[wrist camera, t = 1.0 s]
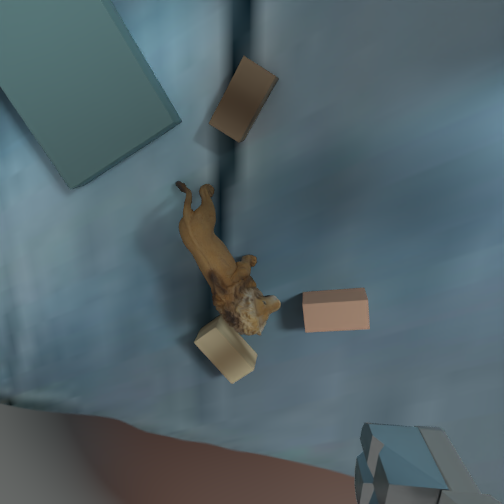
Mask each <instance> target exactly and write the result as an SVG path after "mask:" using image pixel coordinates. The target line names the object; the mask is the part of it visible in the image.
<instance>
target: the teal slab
mask: <svg viewBox="0 0 504 504" xmlns="http://www.w3.org/2000/svg"><path fill="white" fill-rule="evenodd" d="M0 87H1V88H2V90H3V91H4V93H5V94H6V96H7V97H8V99H9V100H10V102H11V103H12V105H13V106H14V108H15V109H16V110H17V112H18V113H19V115H20V116H21V118H22V119H23V121H24V122H25V124H26V125H27V127H28V128H29V130H30V131H31V133H32V134H33V135H34V137H35V138H36V140H37V141H38V143H39V144H40V146H41V147H42V149H43V150H44V152H45V153H46V155H47V156H48V158H49V159H50V160H51V162H52V163H53V165H54V166H55V168H56V169H57V171H58V172H59V174H60V175H61V177H62V178H63V180H64V181H65V183H66V184H67V186H68V187H69V188H70V190H71V189H74V188H77V187H80V186H83V185H85V184H87V183H88V182H90V181H91V180H93V179H94V178H96V177H98V176H99V175H101V174H102V173H104V172H105V171H107V170H108V169H110V168H111V167H113V166H115V165H116V164H118V163H119V162H121V161H122V160H124V159H125V158H127V157H128V156H130V155H131V154H133V153H135V152H136V151H138V150H139V149H141V148H142V147H144V146H145V145H147V144H148V143H150V142H151V141H153V140H155V139H156V138H158V137H159V136H161V135H162V134H164V133H165V132H167V131H168V130H170V129H172V128H173V127H175V126H176V125H178V124H179V123H181V122H182V121H181V119H180V117H179V116H178V114H177V112H176V111H175V109H174V107H173V105H172V104H171V102H170V100H169V99H168V97H167V95H166V94H165V92H164V90H163V89H162V87H161V85H160V83H159V82H158V80H157V78H156V77H155V75H154V73H153V72H152V70H151V68H150V67H149V65H148V63H147V61H146V60H145V58H144V56H143V55H142V53H141V51H140V50H139V48H138V46H137V45H136V43H135V41H134V39H133V38H132V36H131V34H130V33H129V31H128V29H127V28H126V26H125V24H124V23H123V21H122V19H121V17H120V16H119V14H118V12H117V11H116V9H115V7H114V6H113V4H112V2H111V1H110V0H0Z"/></svg>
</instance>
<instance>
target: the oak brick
mask: <svg viewBox="0 0 504 504" xmlns="http://www.w3.org/2000/svg"><path fill="white" fill-rule="evenodd" d="M194 343H195V344H196V345H197V347H198V348H199V349H200V350H201V351H202V352H203V353H204V354H205V355H206V356H207V357H208V359H209V360H210V361H211V362H212V363H213V364H214V365H215V366H216V367H217V368H218V369H219V371H220V372H221V373H222V374H223V375H224V376H225V377H226V378H227V379H228V380H229V382H230V383H231V384H233V383H234V382H236V381H238V380H239V379H241V378H242V377H244V376H245V375H247V374H248V373H250V372H251V371H253V370H254V368H255V363H256V358H257V354H256V353H255V352H254V350H253V349H252V348H251V347H250V346H249V345H248V344H247V343H246V341H245V340H244V339H243V338H242V337H241V336H240V335H239V334H238V332H236V331H235V330H234V328H233V327H230V326H229V325H228V324H227V323H226V322H225V320H224V319H223V318H222V315H219V316H218V317H216V318H215V319H214V320H212V321H211V322H210V323H208V324H207V325H205V326H204V327H203V328H201V329H200V331H199V333H198V335H197V337H196V339H195V341H194Z"/></svg>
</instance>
